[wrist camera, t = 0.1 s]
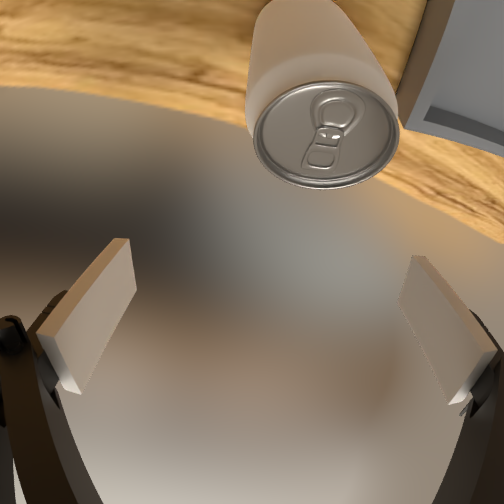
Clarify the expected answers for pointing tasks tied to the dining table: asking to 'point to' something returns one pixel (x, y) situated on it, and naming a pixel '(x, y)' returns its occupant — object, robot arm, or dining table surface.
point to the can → (318, 97)
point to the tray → (457, 74)
